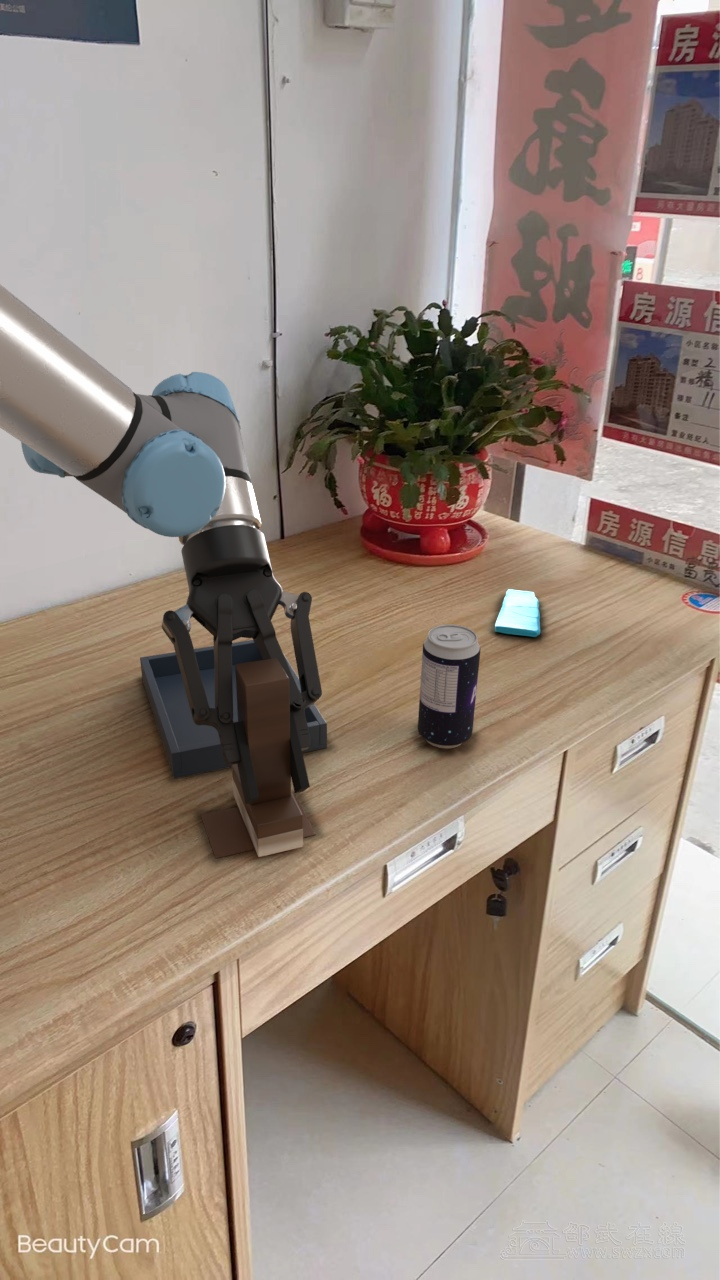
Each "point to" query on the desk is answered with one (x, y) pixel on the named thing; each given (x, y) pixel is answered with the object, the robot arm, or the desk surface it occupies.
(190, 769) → the tray
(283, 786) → the brush
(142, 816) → the desk surface
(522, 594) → the sponge
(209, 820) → the stain
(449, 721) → the beverage can
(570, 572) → the desk surface
